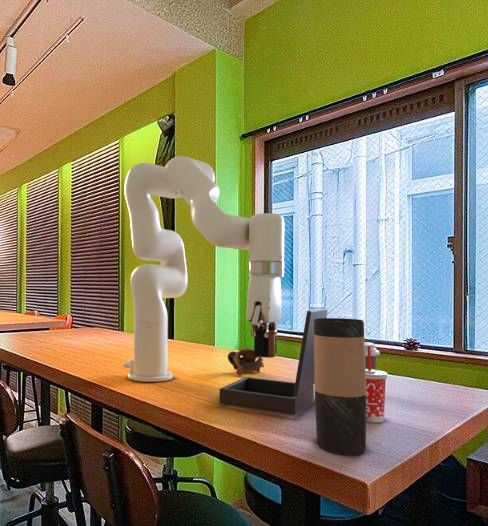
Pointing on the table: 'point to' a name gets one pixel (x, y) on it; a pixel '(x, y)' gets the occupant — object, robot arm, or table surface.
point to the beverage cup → (375, 392)
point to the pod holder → (265, 395)
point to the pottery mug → (245, 361)
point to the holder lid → (307, 353)
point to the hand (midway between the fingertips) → (265, 354)
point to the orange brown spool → (271, 343)
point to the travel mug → (340, 385)
